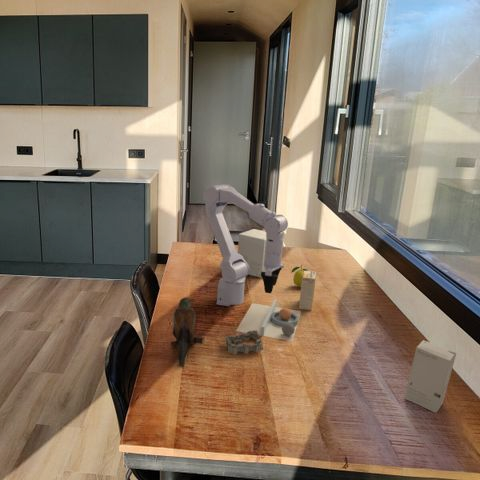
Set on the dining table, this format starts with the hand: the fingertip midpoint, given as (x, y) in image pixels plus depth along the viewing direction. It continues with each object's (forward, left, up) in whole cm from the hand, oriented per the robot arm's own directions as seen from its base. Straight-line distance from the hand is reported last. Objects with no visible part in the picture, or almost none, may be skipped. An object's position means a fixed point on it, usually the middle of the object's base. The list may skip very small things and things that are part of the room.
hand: (270, 288), depth 148 cm
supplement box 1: (-14, +43, -10) cm, 46 cm away
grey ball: (+9, -14, -7) cm, 18 cm away
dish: (+6, -5, -9) cm, 12 cm away
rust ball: (+6, -5, -6) cm, 10 cm away
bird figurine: (-18, -31, -10) cm, 37 cm away
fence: (+2, -6, -10) cm, 12 cm away
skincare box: (+47, -34, -10) cm, 59 cm away
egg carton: (-2, -25, -10) cm, 27 cm away
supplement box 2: (+12, +12, -10) cm, 20 cm away
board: (+2, -6, -10) cm, 12 cm away
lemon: (+7, +31, -10) cm, 33 cm away
